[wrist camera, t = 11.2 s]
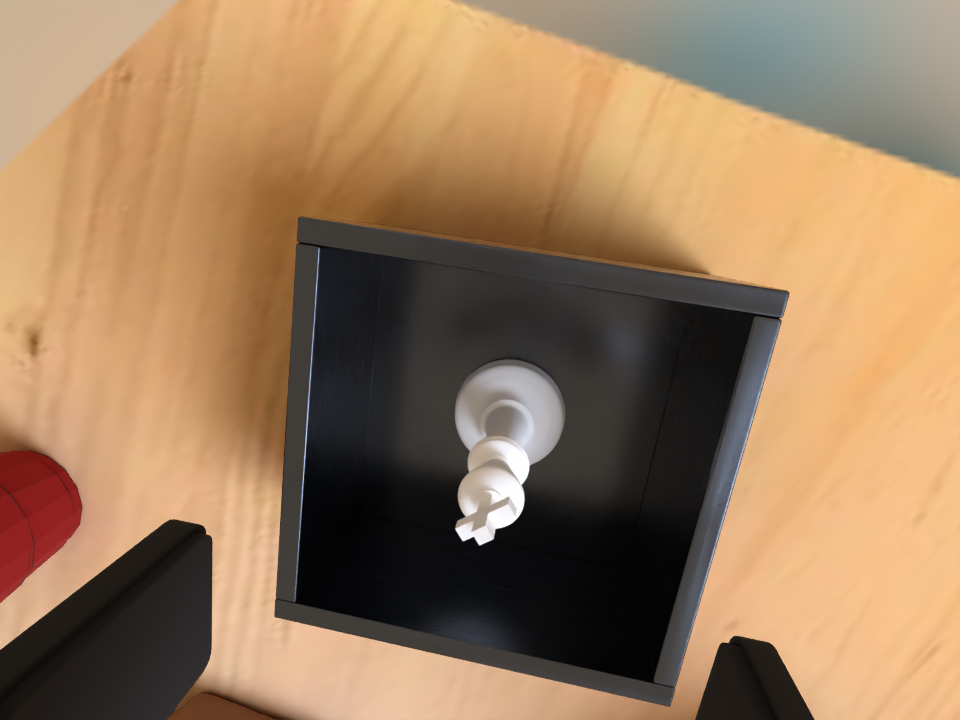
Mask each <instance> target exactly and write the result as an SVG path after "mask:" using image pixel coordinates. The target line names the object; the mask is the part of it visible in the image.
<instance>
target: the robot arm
mask: <svg viewBox="0 0 960 720" xmlns="http://www.w3.org/2000/svg"><path fill="white" fill-rule="evenodd" d="M211 646H212V538H211V536H209V535H206V530H205V528H204V526H202V525H199V524H194V523H189V522H184V521H179V520H175V519H173V520H169V521H167V522H165V523H164V524H163V525H161V526H160V527H159V528H157V529H156V530H155V531H154V532H152V533H151V534H150V535H148V536H147V537H146V538H144V539H143V540H142V541H141V542H139V543H138V544H137V545H135V546H134V547H133V548H132V549H130V550H129V551H128V552H126V553H125V554H124V555H123V556H121V557H120V558H119V559H117V560H116V561H115V562H113V563H112V564H111V565H110V566H108V567H107V568H106V569H104V570H103V571H102V572H101V573H99V574H98V575H97V576H95V577H94V578H93V579H91V580H90V581H89V582H88V583H86V584H85V585H84V586H82V587H81V588H80V589H79V590H77V591H76V592H75V593H73V594H72V595H71V596H69V597H68V598H67V599H66V600H64V601H63V602H62V603H60V604H59V605H58V606H57V607H55V608H54V609H53V610H51V611H50V612H49V613H48V614H46V615H45V616H44V617H42V618H41V619H40V620H38V621H37V622H36V623H35V624H33V625H32V626H31V627H29V628H28V629H27V630H26V631H24V632H23V633H22V634H20V635H19V636H18V637H16V638H15V639H14V640H13V641H11V642H10V643H9V644H7V645H6V646H5V647H4V648H2V649H1V650H0V720H167V718H168V717H169V716H170V714H171V713H172V712H173V711H174V709H175V708H176V707H177V705H178V704H179V703H180V701H181V700H182V699H183V698H184V696H185V695H186V694H187V692H188V691H189V690H190V689H191V687H192V686H193V685H194V683H195V682H196V681H197V679H198V678H199V677H200V676H201V674H202V673H203V671H204V670H205V668H206V666H207V664H208V661H209V659H210V655H211ZM695 720H814V718H813V716H812V714H811V713H810V711H809V709H808V707H807V705H806V703H805V702H804V700H803V698H802V696H801V694H800V692H799V691H798V689H797V687H796V685H795V683H794V681H793V680H792V678H791V676H790V674H789V672H788V670H787V669H786V667H785V665H784V663H783V661H782V659H781V658H780V656H779V654H778V652H777V650H776V649H775V647H774V646H773V645H772V644H770V643H769V642H764V641H759V640H754V639H749V638H745V637H740V636H734V637H733V638H731V640H730V642H729V643H721V644H720V646H719V648H718V651H717V654H716V657H715V660H714V663H713V666H712V670H711V673H710V676H709V679H708V682H707V685H706V688H705V691H704V694H703V697H702V700H701V704H700V707H699V710H698V713H697V716H696V719H695Z"/></svg>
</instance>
